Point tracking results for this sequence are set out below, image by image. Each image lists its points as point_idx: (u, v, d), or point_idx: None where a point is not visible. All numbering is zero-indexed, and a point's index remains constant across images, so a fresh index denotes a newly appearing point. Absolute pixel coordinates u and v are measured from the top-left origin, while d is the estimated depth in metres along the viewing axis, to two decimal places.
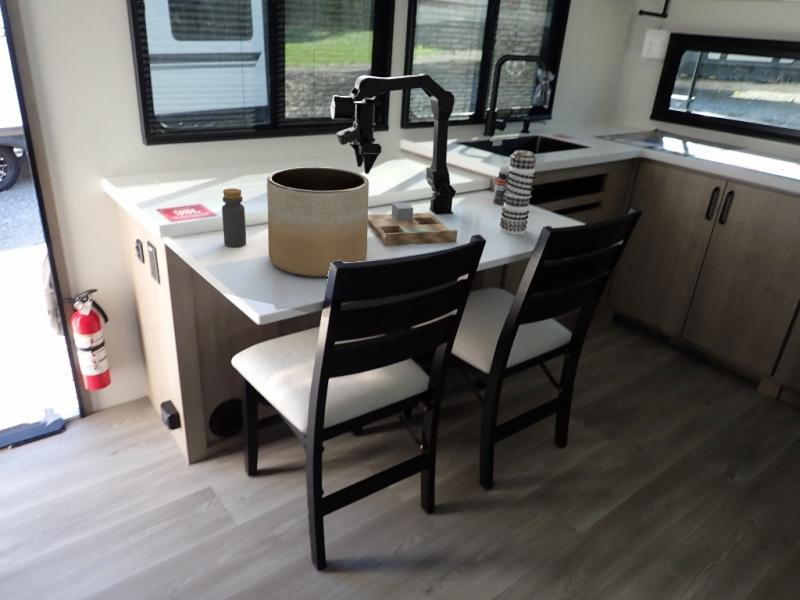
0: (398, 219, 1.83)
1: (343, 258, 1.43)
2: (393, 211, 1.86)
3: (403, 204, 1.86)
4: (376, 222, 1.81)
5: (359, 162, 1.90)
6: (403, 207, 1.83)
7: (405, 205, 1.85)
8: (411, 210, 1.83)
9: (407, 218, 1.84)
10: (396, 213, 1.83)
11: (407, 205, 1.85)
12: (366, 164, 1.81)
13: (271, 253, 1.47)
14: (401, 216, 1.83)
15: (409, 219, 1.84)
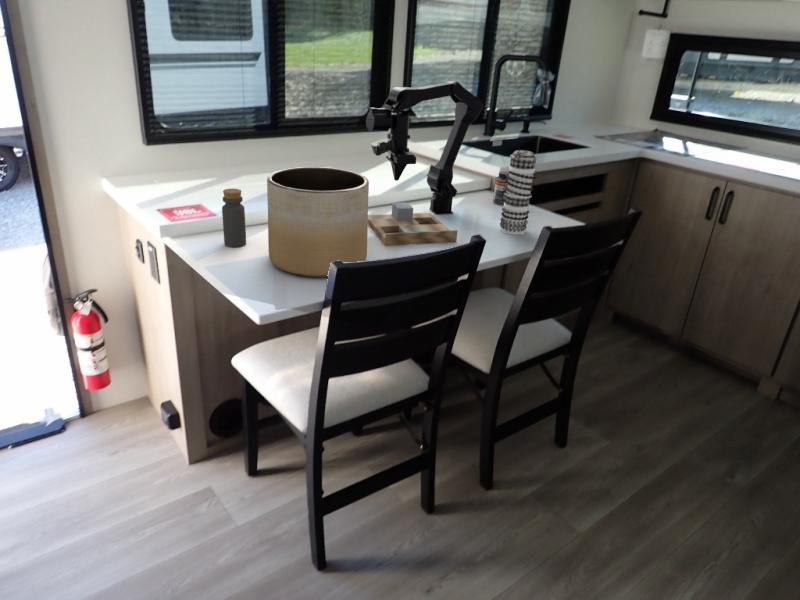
0: (398, 219, 1.83)
1: (343, 258, 1.43)
2: (393, 211, 1.86)
3: (403, 204, 1.86)
4: (376, 222, 1.81)
5: None
6: (403, 207, 1.83)
7: (405, 205, 1.85)
8: (411, 210, 1.83)
9: (407, 218, 1.84)
10: (396, 213, 1.83)
11: (407, 205, 1.85)
12: (396, 171, 1.86)
13: (271, 253, 1.47)
14: (401, 216, 1.83)
15: (409, 219, 1.84)
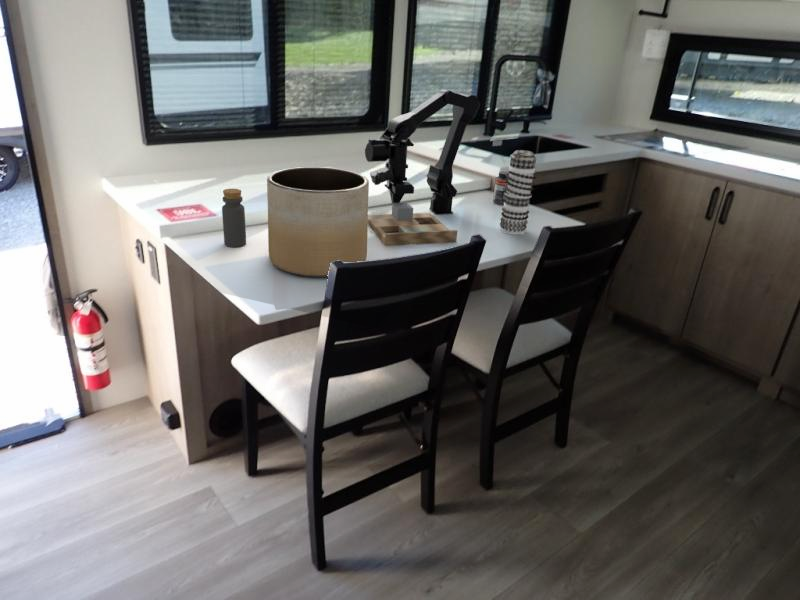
0: (398, 219, 1.83)
1: (343, 258, 1.43)
2: (393, 211, 1.86)
3: (403, 204, 1.86)
4: (376, 222, 1.81)
5: None
6: (403, 207, 1.83)
7: (405, 205, 1.85)
8: (411, 210, 1.83)
9: (407, 218, 1.84)
10: (396, 213, 1.83)
11: (407, 205, 1.85)
12: (394, 199, 1.90)
13: (271, 253, 1.47)
14: (401, 216, 1.83)
15: (409, 219, 1.84)
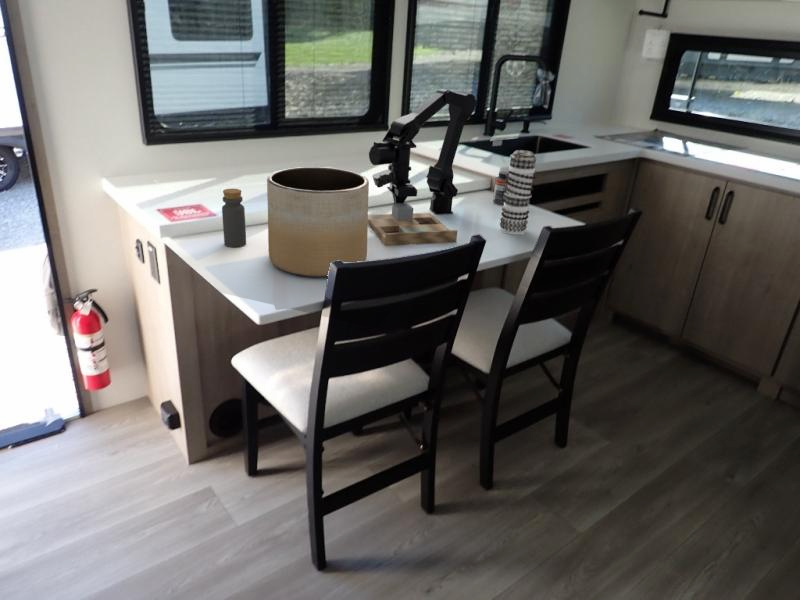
0: (398, 219, 1.83)
1: (343, 258, 1.43)
2: (393, 211, 1.86)
3: (403, 204, 1.86)
4: (376, 222, 1.81)
5: None
6: (403, 207, 1.83)
7: (405, 205, 1.85)
8: (411, 210, 1.83)
9: (407, 218, 1.84)
10: (396, 213, 1.83)
11: (407, 205, 1.85)
12: (397, 202, 1.88)
13: (271, 253, 1.47)
14: (401, 216, 1.83)
15: (409, 219, 1.84)
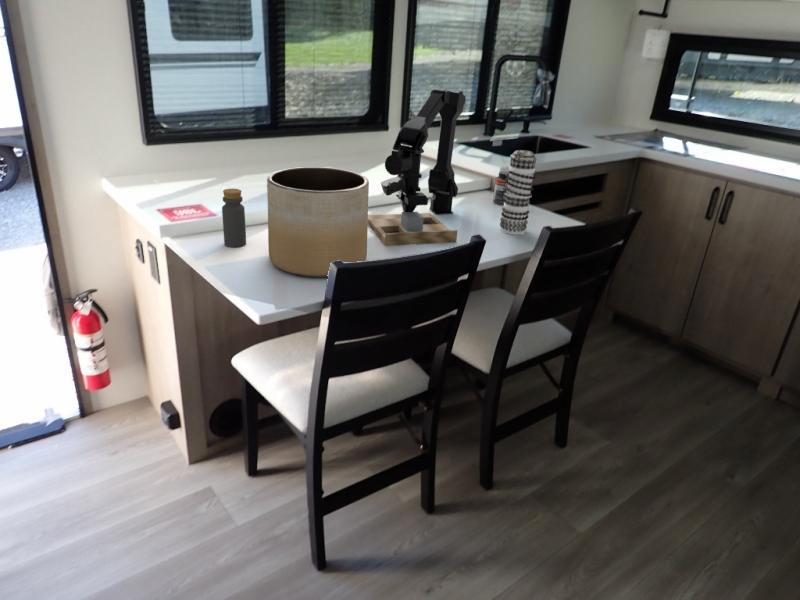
0: (408, 229, 1.75)
1: (343, 258, 1.43)
2: (402, 220, 1.78)
3: (413, 213, 1.78)
4: (376, 222, 1.81)
5: None
6: (413, 216, 1.75)
7: (415, 215, 1.76)
8: (421, 220, 1.75)
9: (417, 228, 1.76)
10: (405, 223, 1.75)
11: (417, 214, 1.77)
12: (406, 211, 1.79)
13: (271, 253, 1.47)
14: (410, 226, 1.75)
15: (419, 229, 1.76)
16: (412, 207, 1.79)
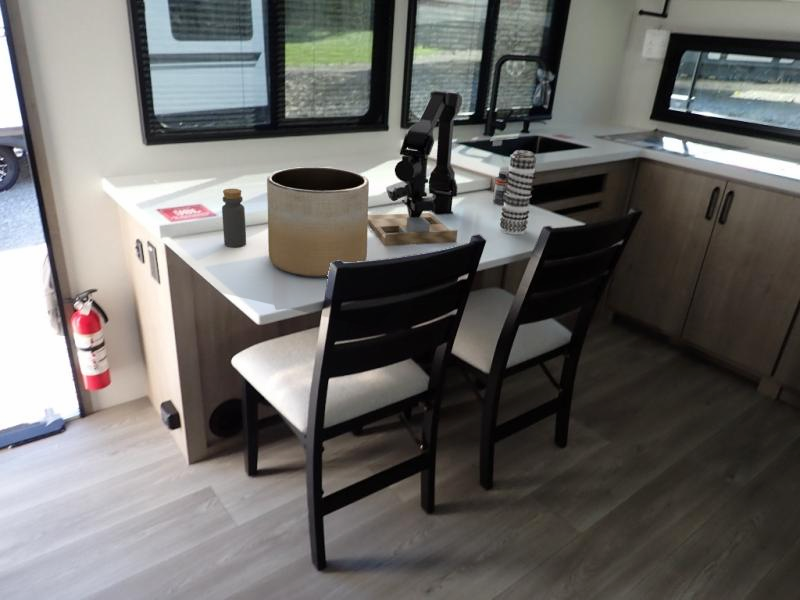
0: None
1: (343, 258, 1.43)
2: (408, 226, 1.73)
3: (419, 219, 1.73)
4: (376, 222, 1.81)
5: None
6: (419, 222, 1.70)
7: (421, 220, 1.72)
8: (427, 225, 1.70)
9: None
10: (411, 229, 1.71)
11: (423, 220, 1.72)
12: (412, 216, 1.75)
13: (271, 253, 1.47)
14: None
15: None
16: (418, 213, 1.75)
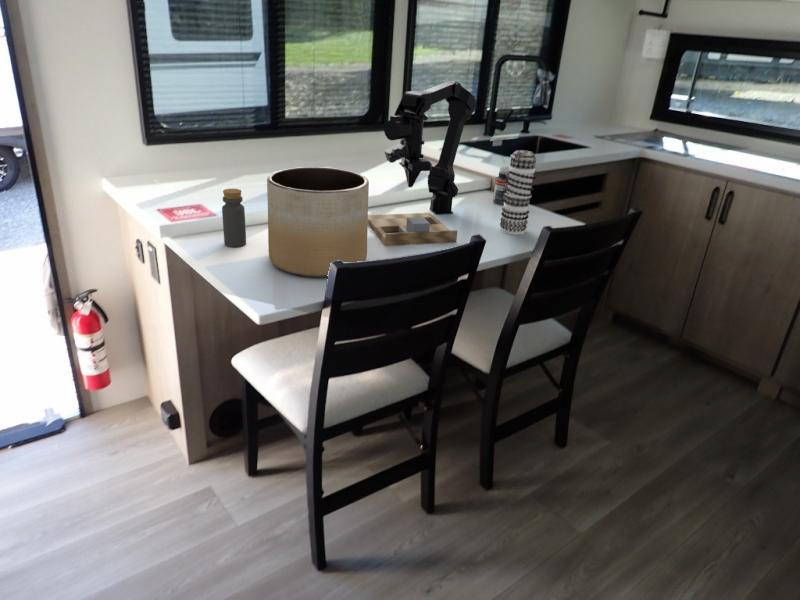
0: None
1: (343, 258, 1.43)
2: (408, 226, 1.73)
3: (419, 219, 1.73)
4: (376, 222, 1.81)
5: None
6: (419, 222, 1.70)
7: (421, 220, 1.72)
8: (427, 225, 1.70)
9: None
10: (411, 229, 1.71)
11: (423, 220, 1.72)
12: (410, 178, 1.82)
13: (271, 253, 1.47)
14: None
15: None
16: (415, 174, 1.81)
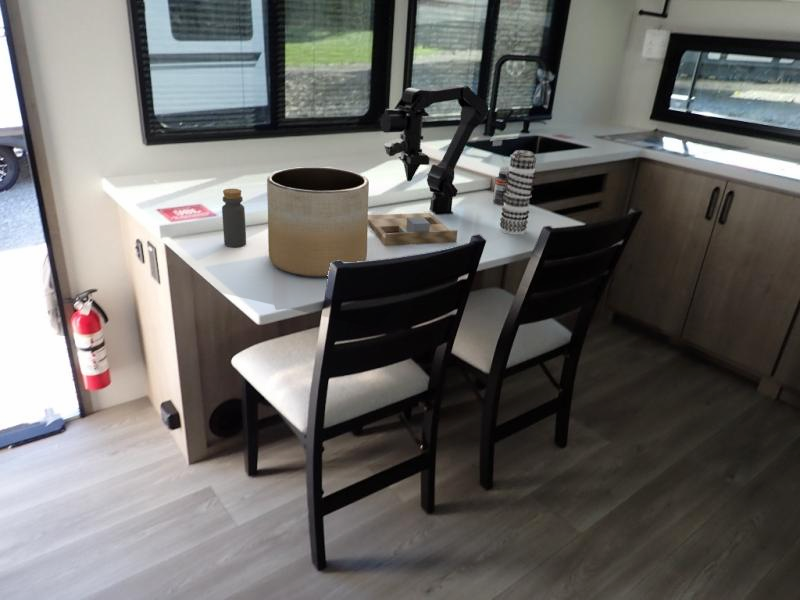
0: None
1: (343, 258, 1.43)
2: (408, 226, 1.73)
3: (419, 219, 1.73)
4: (376, 222, 1.81)
5: None
6: (419, 222, 1.70)
7: (421, 220, 1.72)
8: (427, 225, 1.70)
9: None
10: (411, 229, 1.71)
11: (423, 220, 1.72)
12: (408, 172, 1.87)
13: (271, 253, 1.47)
14: None
15: None
16: (414, 168, 1.86)
